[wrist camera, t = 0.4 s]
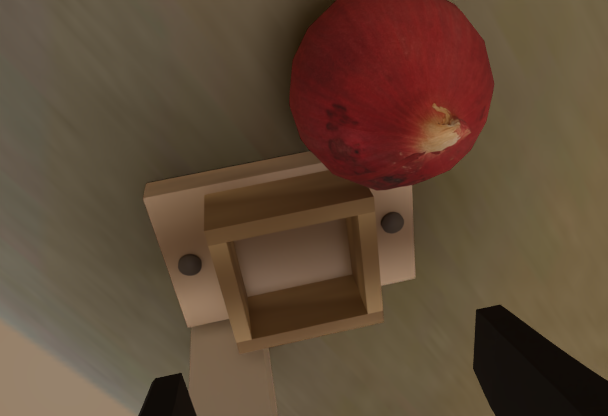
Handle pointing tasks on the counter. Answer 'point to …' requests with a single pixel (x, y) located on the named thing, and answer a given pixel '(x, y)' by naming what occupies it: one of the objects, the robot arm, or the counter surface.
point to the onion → (390, 90)
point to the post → (228, 375)
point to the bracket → (281, 248)
